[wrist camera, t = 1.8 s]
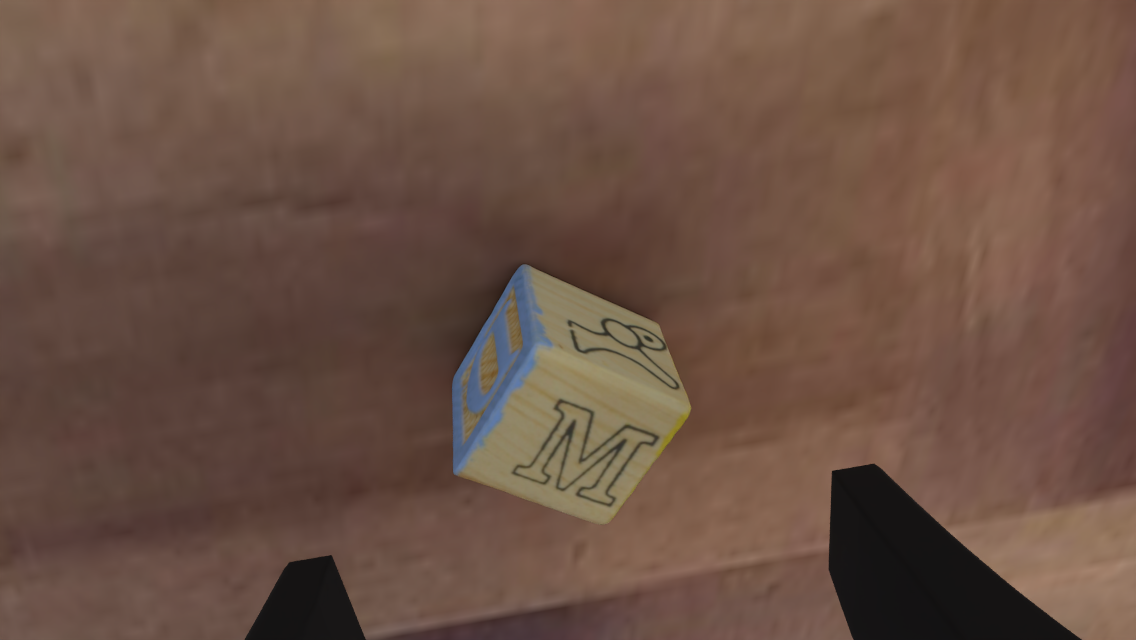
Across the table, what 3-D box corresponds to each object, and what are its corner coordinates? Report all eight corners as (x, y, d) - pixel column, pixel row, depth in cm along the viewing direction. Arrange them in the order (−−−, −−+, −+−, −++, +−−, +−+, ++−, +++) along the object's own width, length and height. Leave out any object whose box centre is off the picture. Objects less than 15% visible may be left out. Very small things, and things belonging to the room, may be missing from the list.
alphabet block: (523, 254, 17) (535, 346, 14) (664, 318, 18) (697, 415, 15) (449, 375, 18) (447, 481, 15) (584, 429, 19) (603, 535, 16)
